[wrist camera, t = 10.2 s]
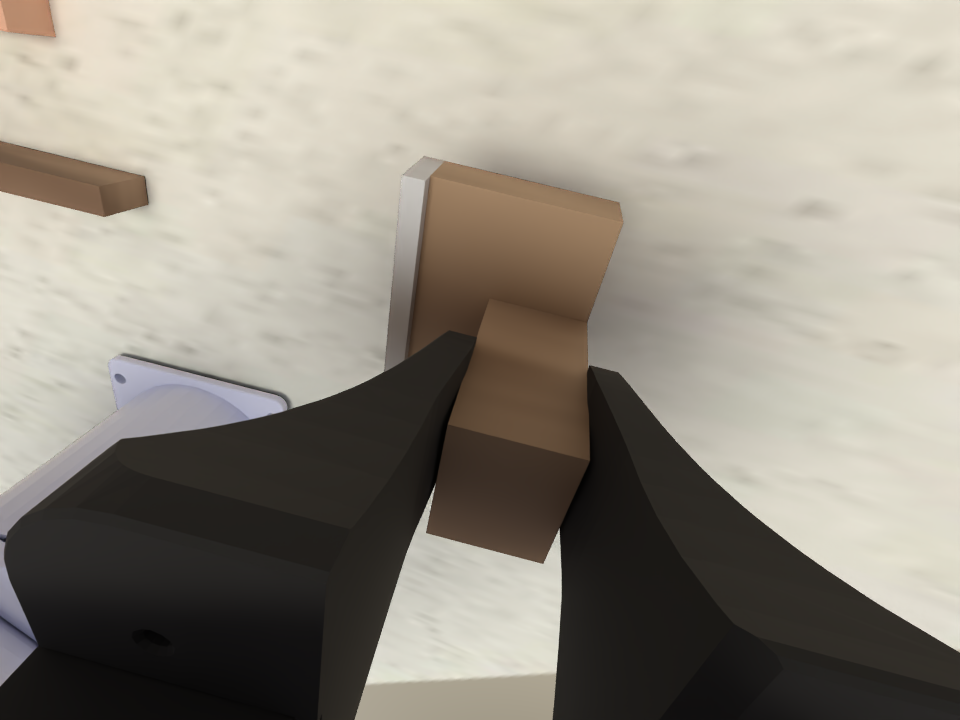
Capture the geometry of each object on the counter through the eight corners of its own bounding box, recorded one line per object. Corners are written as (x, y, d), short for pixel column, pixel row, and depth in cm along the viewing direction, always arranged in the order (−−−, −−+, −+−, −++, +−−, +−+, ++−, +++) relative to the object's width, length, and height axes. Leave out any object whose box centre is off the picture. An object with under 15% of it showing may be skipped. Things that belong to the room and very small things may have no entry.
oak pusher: (534, 443, 16) (515, 625, 11) (396, 407, 16) (316, 572, 11) (619, 202, 12) (647, 333, 7) (424, 156, 12) (311, 250, 7)
